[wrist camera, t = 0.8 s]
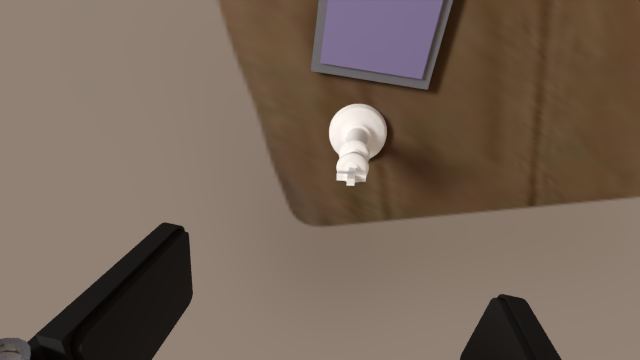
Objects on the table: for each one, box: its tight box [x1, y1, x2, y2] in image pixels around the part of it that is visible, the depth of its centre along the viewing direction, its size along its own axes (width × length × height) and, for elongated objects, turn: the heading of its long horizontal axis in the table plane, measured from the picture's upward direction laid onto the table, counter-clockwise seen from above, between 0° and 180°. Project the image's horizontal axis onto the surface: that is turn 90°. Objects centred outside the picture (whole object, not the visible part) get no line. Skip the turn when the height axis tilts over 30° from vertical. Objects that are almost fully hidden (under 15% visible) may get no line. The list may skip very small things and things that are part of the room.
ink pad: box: [311, 0, 453, 90], centre depth 21 cm, size 9×9×1 cm
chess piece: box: [329, 104, 387, 186], centre depth 21 cm, size 5×5×10 cm
